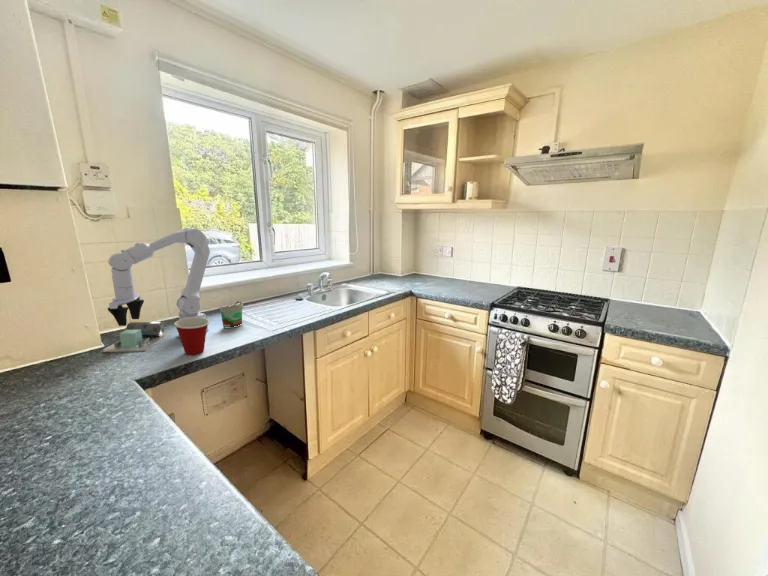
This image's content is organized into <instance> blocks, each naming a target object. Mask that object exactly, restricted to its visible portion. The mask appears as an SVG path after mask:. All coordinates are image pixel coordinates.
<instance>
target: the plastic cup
mask: <svg viewBox="0 0 768 576" xmlns="http://www.w3.org/2000/svg"><path fill="white" fill-rule="evenodd" d="M209 324H210V320H209V319H208V318H207V319H205V318H197V317H194V318H185V319H181V320H179V319H178V320H176V321H174V327H175V328H176V330H177V333H178V334H179V336H180V337H179V339H180V342H181V345H182V347H183V350H184V353H185V355H187V356H190V355H191V356H198V355H200V353H201V354H202V352H203V351H204V350H205V343H206V337H207V332H206V329H207V326H208V325H209ZM203 353H204V352H203ZM197 354H198V355H197Z"/></svg>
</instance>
